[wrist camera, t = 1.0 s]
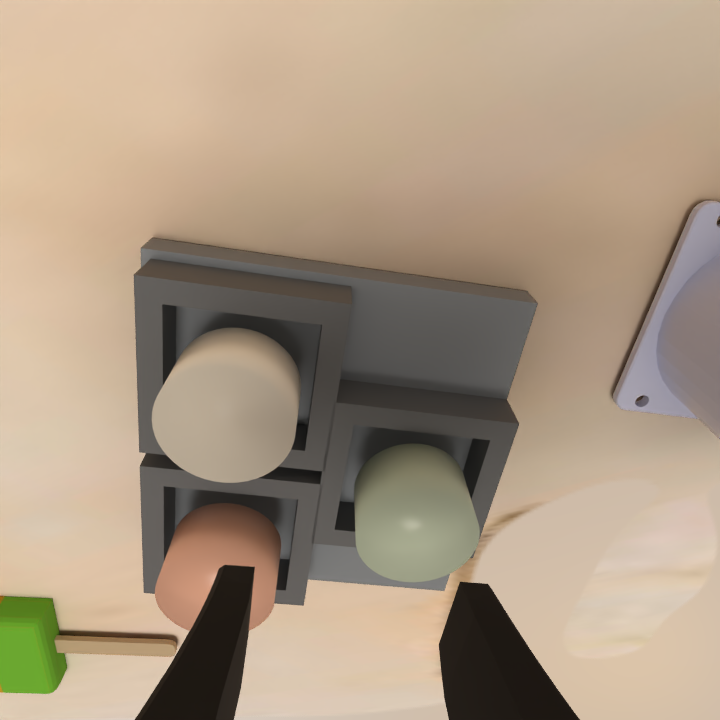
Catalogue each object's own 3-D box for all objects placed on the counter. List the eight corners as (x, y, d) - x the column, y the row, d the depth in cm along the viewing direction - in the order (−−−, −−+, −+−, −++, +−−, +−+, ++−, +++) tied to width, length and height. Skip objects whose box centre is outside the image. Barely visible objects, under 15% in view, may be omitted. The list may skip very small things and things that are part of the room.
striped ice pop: (-151, 581, 26) (-185, 617, 24) (178, 594, 27) (168, 630, 25) (-115, 655, 28) (-144, 692, 27) (183, 664, 29) (174, 701, 28)
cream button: (307, 336, 17) (303, 374, 15) (294, 441, 19) (288, 489, 17) (174, 319, 17) (150, 355, 14) (174, 429, 18) (152, 475, 16)
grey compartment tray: (527, 291, 20) (553, 322, 17) (439, 569, 26) (450, 622, 23) (152, 237, 18) (122, 263, 16) (156, 544, 25) (136, 597, 22)
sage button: (477, 450, 19) (493, 497, 17) (450, 534, 21) (463, 587, 19) (363, 437, 19) (366, 484, 17) (346, 524, 21) (347, 577, 18)
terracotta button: (286, 508, 20) (279, 560, 18) (276, 584, 22) (269, 640, 20) (174, 497, 20) (154, 549, 18) (173, 576, 22) (155, 631, 19)
